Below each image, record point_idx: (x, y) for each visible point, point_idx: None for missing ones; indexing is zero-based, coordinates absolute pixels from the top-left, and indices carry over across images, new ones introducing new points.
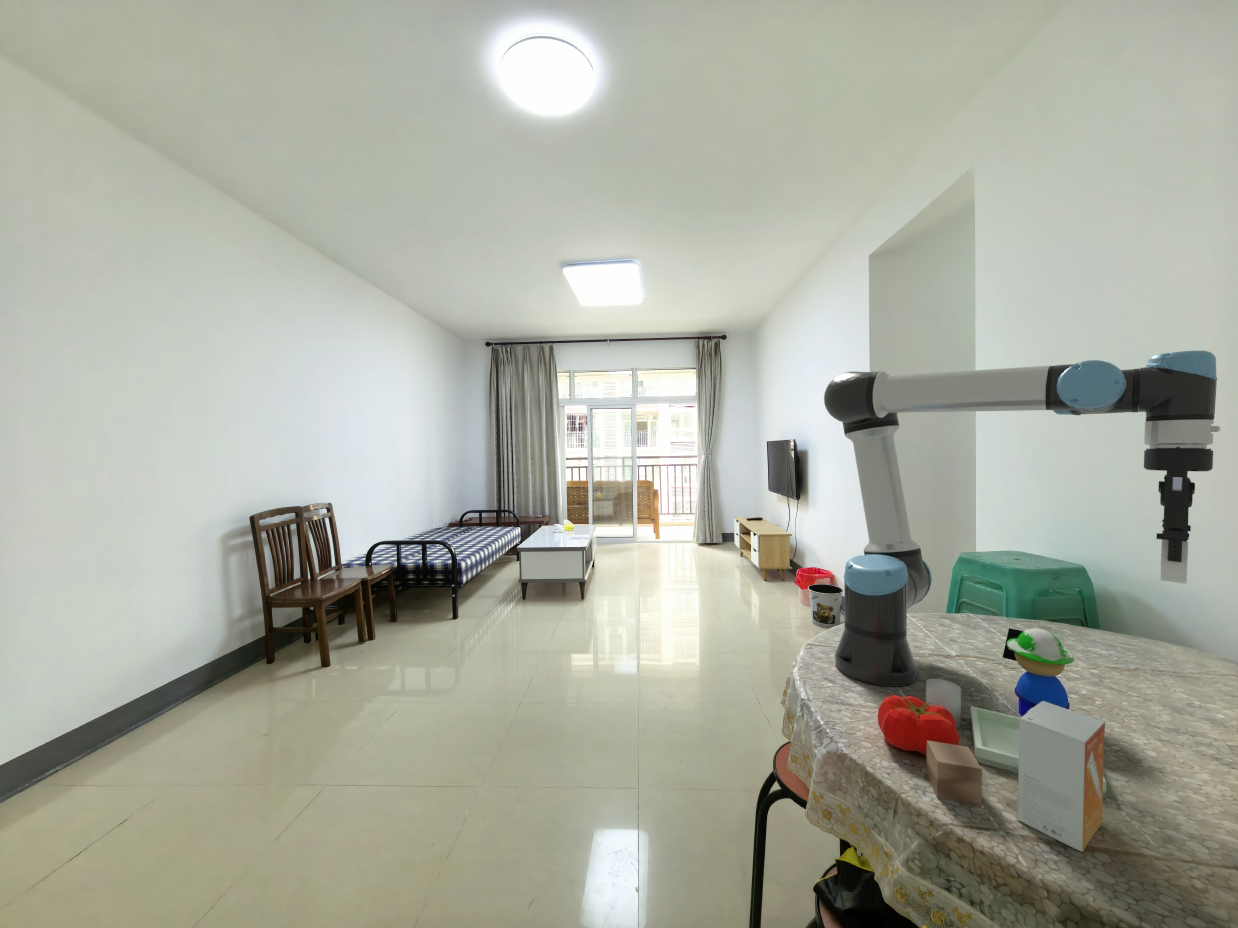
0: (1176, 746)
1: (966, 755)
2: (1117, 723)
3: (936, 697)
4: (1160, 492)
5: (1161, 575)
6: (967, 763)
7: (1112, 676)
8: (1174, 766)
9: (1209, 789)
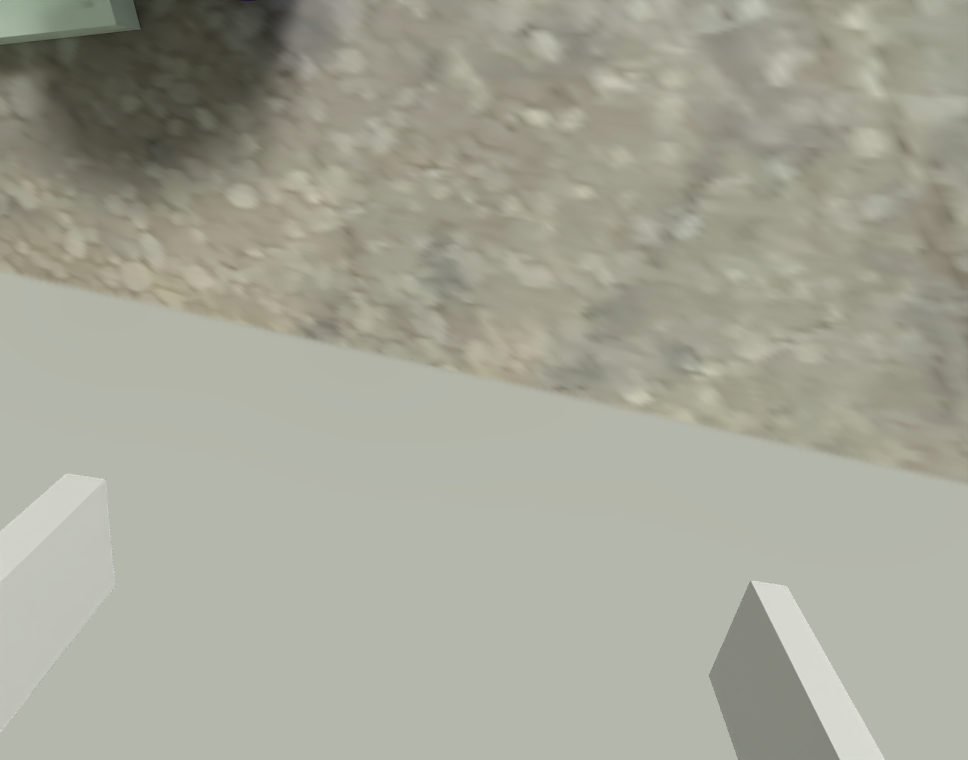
0: (336, 261)
1: None
2: (390, 148)
3: None
4: None
5: (42, 500)
6: None
7: (835, 194)
8: (203, 233)
9: (137, 275)
